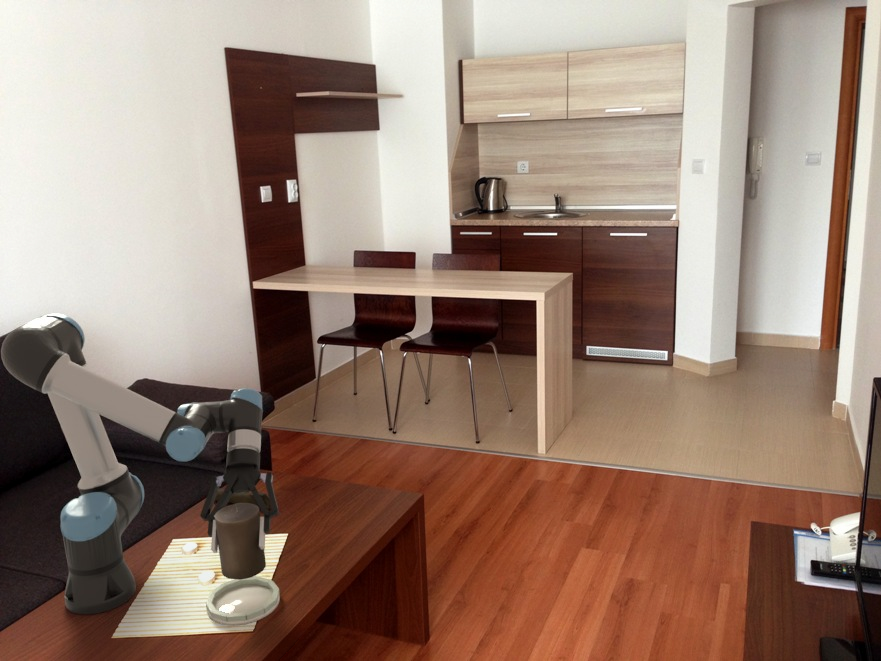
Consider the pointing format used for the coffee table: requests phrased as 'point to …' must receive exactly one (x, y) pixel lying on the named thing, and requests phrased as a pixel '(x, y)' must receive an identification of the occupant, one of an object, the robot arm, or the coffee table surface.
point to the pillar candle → (239, 541)
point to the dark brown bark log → (245, 498)
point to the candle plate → (243, 600)
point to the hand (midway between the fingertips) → (238, 549)
